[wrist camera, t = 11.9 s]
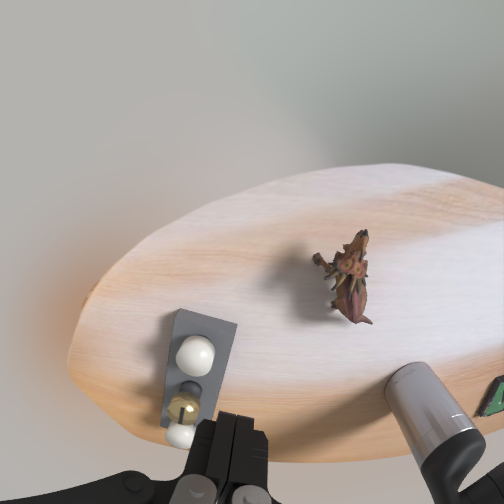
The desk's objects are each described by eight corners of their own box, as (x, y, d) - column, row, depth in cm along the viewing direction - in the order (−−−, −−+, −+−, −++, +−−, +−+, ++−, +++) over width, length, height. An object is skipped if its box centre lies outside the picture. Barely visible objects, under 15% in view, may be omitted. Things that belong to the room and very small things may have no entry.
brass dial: (198, 415, 36) (194, 430, 33) (171, 407, 36) (165, 421, 33) (202, 396, 35) (198, 411, 32) (174, 387, 35) (167, 401, 32)
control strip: (209, 428, 44) (205, 444, 40) (165, 415, 44) (158, 430, 40) (237, 324, 39) (234, 338, 35) (180, 308, 39) (172, 321, 35)
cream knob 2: (194, 439, 39) (191, 451, 36) (168, 432, 39) (164, 443, 36) (198, 423, 38) (194, 436, 36) (170, 415, 38) (165, 427, 36)
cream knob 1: (211, 368, 36) (208, 380, 33) (179, 358, 36) (173, 370, 33) (218, 341, 35) (214, 352, 32) (184, 331, 35) (178, 341, 32)
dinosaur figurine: (304, 236, 36) (317, 251, 27) (348, 221, 36) (373, 231, 26) (333, 329, 39) (349, 365, 30) (372, 314, 38) (396, 346, 29)
